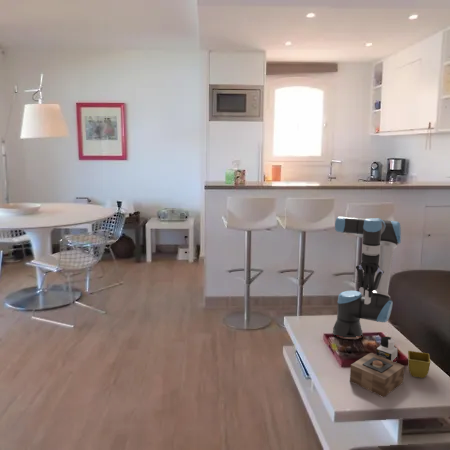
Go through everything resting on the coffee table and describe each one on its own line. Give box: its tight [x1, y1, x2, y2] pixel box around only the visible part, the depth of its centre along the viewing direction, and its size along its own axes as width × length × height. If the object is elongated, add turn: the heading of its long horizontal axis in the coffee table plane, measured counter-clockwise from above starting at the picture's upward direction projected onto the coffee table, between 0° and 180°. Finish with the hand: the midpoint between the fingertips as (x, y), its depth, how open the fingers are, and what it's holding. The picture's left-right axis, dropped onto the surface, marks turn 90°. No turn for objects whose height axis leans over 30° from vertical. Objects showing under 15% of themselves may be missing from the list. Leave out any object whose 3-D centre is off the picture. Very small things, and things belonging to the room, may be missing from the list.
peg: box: [373, 360, 383, 369], centre depth 196 cm, size 4×4×8 cm
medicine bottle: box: [375, 336, 399, 361], centre depth 212 cm, size 7×7×12 cm
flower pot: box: [407, 350, 431, 379], centre depth 202 cm, size 9×9×9 cm
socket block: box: [349, 352, 405, 398], centre depth 196 cm, size 16×16×8 cm
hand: (367, 303), depth 207 cm, fingers closed
